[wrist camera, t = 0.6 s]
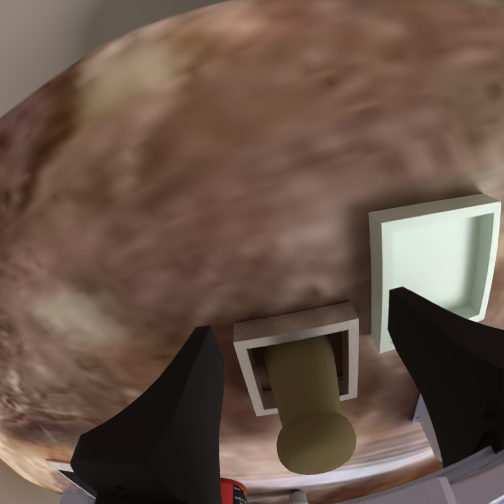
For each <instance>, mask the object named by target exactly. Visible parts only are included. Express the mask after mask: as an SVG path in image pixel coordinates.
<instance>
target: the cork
mask: <svg viewBox="0 0 504 504" xmlns="http://www.w3.org/2000/svg"><path fill="white" fill-rule="evenodd" d="M264 362H265V366H266V370H267V373H268V377H269V380H270V384H271V388H272V391H273V395H274V398H275V402H276V405H277V409H278V413H279V416H280V420H281V423H282V427H283V428H282V429H281V431H280V433H279V436H278V440H277V453H278V457H279V459H280V461H281V463H282V464H283V465H284V466H285V467H286V468H287V469H288V470H289V471H291V472H294V473H298V474H305V475H313V474H320V473H325V472H328V471H331V470H334V469H336V468H338V467H340V466H341V465H343V464H344V463H345V462H347V461H348V460H349V459H350V458H351V456H352V455H353V453H354V450H355V446H356V434H355V431H354V429H353V427H352V425H351V424H350V422H349V421H348V419H347V418H345V417H344V416H342V414H341V405H340V396H339V388H338V380H337V372H336V365H335V357H334V350H333V345H332V342H331V340H330V338H329V337H328V336H326V335H320V336H316V337H311V338H306V339H301V340H295V341H290V342H285V343H279V344H273V345H268V346H267V347H266V349H265V353H264Z"/></svg>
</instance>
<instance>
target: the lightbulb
mask: <svg viewBox="0 0 504 504" xmlns="http://www.w3.org/2000/svg"><path fill="white" fill-rule="evenodd" d="M289 497H290V498H289V499H290V504H308V503H307V499H306V494H305V493H304V492H301V491H294V492H293V493H292V494H290V496H289Z"/></svg>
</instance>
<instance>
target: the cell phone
mask: <svg viewBox="0 0 504 504" xmlns="http://www.w3.org/2000/svg"><path fill="white" fill-rule="evenodd" d="M47 462H48V463H49V464H50V465H51V466H52V467H54V468H55V469H56V470H57V471H59V472H60V473H61V474H62V475H64V476H65V477H66V478H68V479H69V480H70V481H72V482H73V483H74V484H76V485H77V486H78V487H80V488H81V489H83V490H84V491H85V492H87V493H88V494H90V495H91V496H93V497H94V498H96V497H97V492H96V491H95V490H94V489H92V488H91V487H90V486H89V485H87V484H86V483H85V482H84V481H83V480H81V479H80V478H79V477H78V476H77V475H76V474H75V473H74V471H73V470H72V468H71V466H70V462H66V461H58V460H52V459H47Z"/></svg>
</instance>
